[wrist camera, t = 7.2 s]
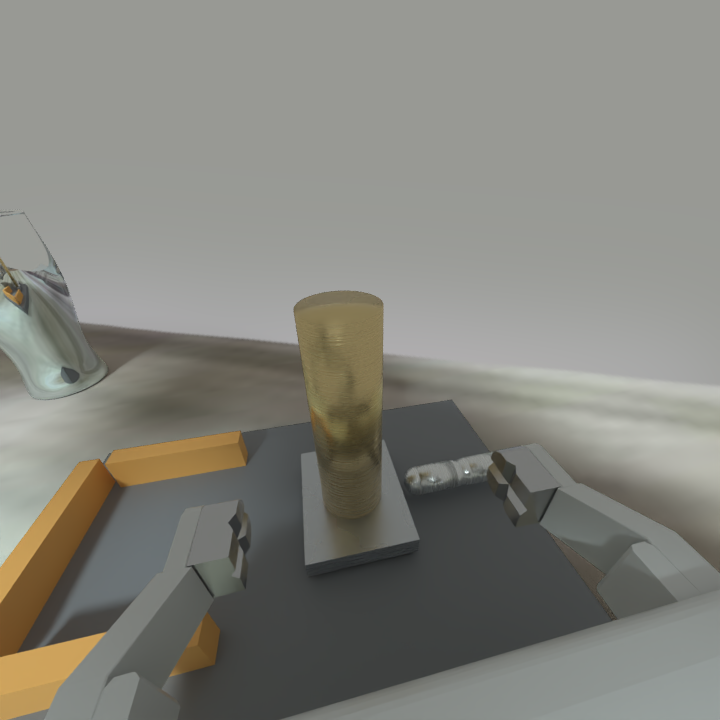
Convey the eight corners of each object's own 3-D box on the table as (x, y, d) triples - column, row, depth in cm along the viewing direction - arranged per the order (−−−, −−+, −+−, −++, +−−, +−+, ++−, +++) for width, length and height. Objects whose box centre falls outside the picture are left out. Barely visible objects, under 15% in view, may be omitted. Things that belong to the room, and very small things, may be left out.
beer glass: (116, 382, 29) (20, 212, 21) (18, 414, 26) (-140, 223, 18) (111, 355, 34) (31, 207, 26) (28, 379, 30) (-94, 215, 23)
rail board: (-113, 862, 9) (-246, 866, 7) (119, 468, 20) (94, 431, 19) (601, 640, 12) (640, 604, 10) (449, 414, 24) (455, 378, 22)
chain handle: (307, 576, 13) (252, 360, 7) (303, 465, 18) (268, 285, 12) (544, 521, 15) (652, 310, 9) (479, 433, 20) (521, 263, 14)
